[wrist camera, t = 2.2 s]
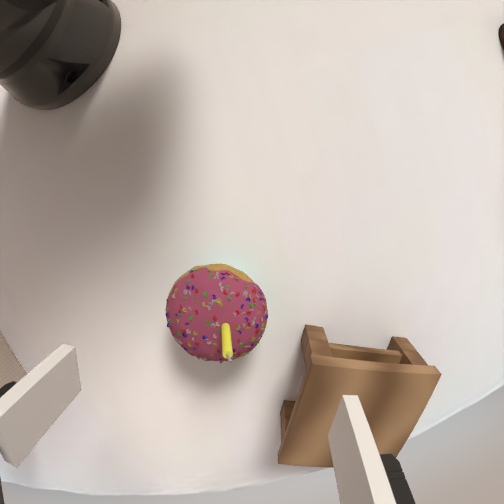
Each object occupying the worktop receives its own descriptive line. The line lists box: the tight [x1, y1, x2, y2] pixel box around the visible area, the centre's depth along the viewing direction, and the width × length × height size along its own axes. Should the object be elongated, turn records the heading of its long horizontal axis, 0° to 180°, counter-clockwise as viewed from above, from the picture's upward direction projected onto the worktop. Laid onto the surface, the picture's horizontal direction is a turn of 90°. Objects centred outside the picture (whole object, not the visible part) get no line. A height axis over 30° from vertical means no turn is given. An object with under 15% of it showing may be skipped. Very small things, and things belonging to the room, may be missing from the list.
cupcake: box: [165, 264, 268, 363], centre depth 25 cm, size 9×8×12 cm
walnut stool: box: [278, 325, 441, 467], centre depth 28 cm, size 12×12×8 cm
